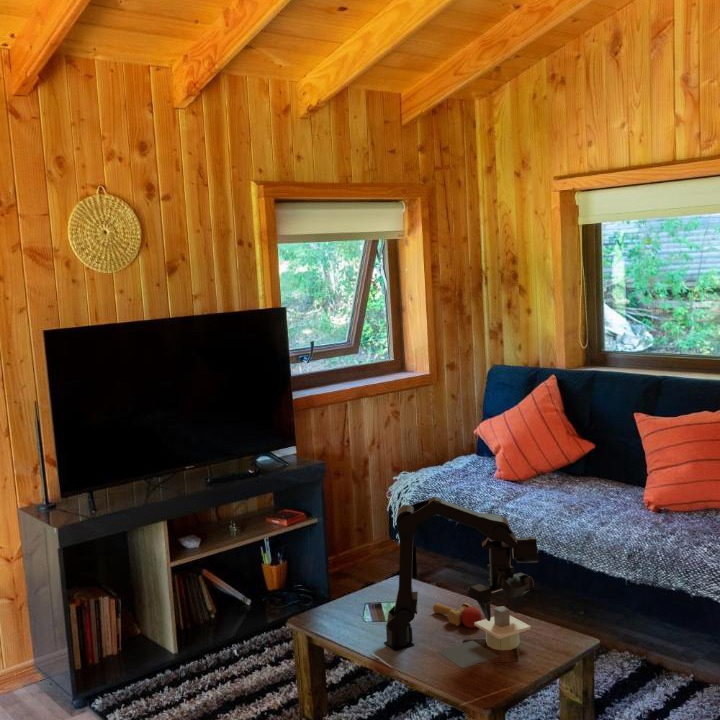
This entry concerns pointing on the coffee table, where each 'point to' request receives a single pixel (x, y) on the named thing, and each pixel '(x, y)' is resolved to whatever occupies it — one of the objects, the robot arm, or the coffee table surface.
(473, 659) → the gray square plate
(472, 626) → the kendama
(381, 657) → the coffee table surface
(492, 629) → the lid
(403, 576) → the robot arm
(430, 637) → the coffee table surface
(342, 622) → the coffee table surface
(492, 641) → the bowl
